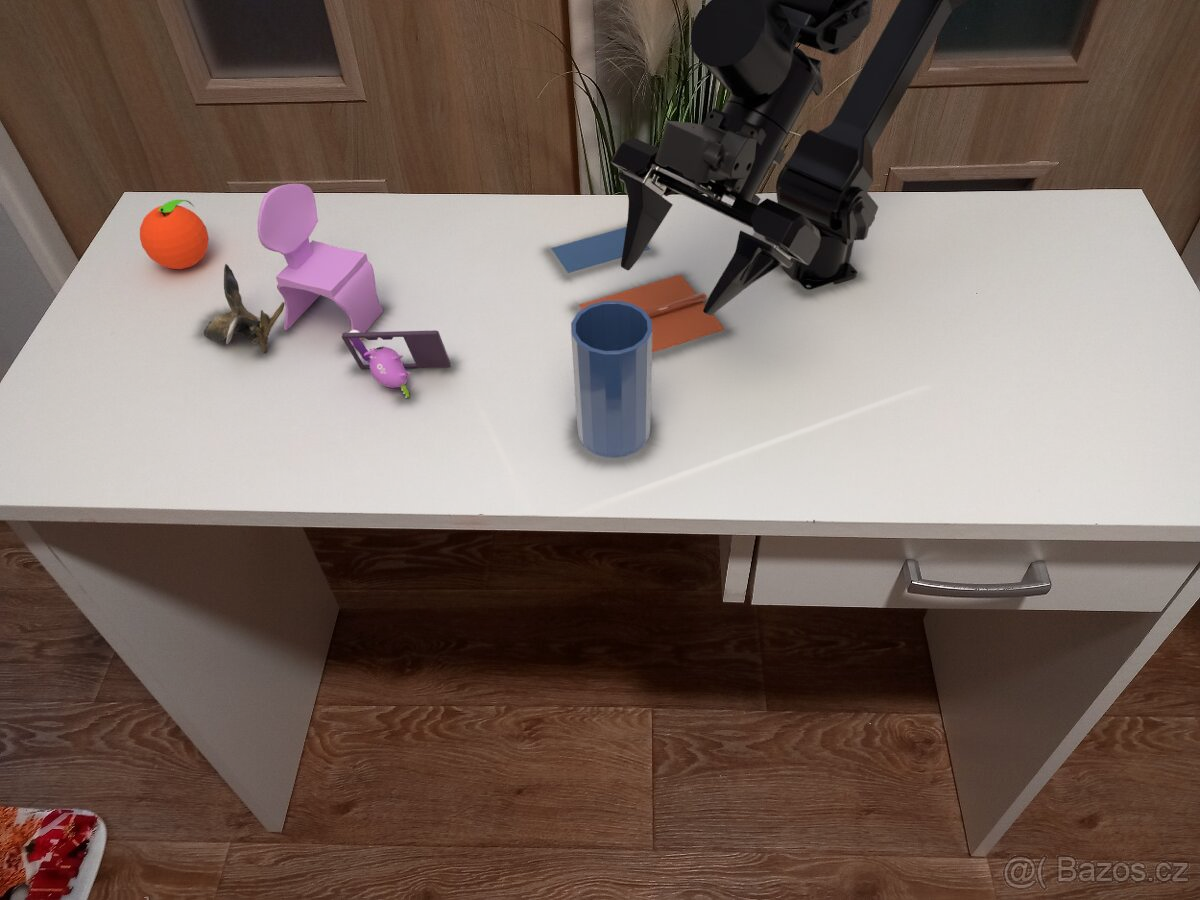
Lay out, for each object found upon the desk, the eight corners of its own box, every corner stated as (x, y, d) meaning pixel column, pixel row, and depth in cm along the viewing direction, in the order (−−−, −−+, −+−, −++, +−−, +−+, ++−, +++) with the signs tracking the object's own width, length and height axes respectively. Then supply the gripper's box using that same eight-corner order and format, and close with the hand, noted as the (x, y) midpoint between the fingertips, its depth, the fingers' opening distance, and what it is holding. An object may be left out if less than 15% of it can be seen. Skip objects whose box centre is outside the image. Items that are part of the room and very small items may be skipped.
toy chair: (350, 356, 91) (310, 231, 80) (277, 336, 94) (229, 212, 82) (392, 306, 96) (360, 182, 85) (322, 288, 99) (282, 165, 87)
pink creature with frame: (438, 323, 84) (342, 325, 84) (435, 373, 82) (337, 375, 82) (451, 357, 90) (361, 359, 90) (448, 404, 88) (357, 406, 88)
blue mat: (631, 229, 104) (631, 225, 104) (650, 252, 101) (650, 248, 101) (551, 251, 102) (551, 247, 102) (568, 276, 99) (567, 272, 99)
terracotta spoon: (699, 290, 96) (699, 283, 95) (713, 308, 94) (713, 301, 93) (605, 319, 93) (605, 312, 93) (618, 337, 91) (618, 331, 91)
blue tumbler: (631, 400, 86) (631, 292, 76) (661, 446, 82) (665, 339, 72) (567, 421, 84) (558, 313, 75) (595, 470, 80) (590, 363, 71)
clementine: (182, 235, 106) (158, 182, 101) (234, 243, 105) (212, 190, 99) (141, 276, 101) (114, 222, 96) (195, 285, 100) (171, 231, 94)
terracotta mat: (680, 277, 98) (680, 274, 98) (724, 332, 92) (725, 329, 92) (579, 308, 95) (578, 304, 95) (617, 367, 89) (617, 363, 89)
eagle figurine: (306, 314, 94) (246, 272, 96) (267, 293, 87) (203, 248, 89) (266, 375, 94) (207, 331, 96) (223, 359, 87) (160, 312, 89)
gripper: (624, 41, 71) (535, 221, 74) (823, 119, 63) (712, 319, 66) (684, 99, 81) (602, 256, 84) (864, 173, 72) (765, 346, 75)
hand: (664, 290), depth 77 cm, fingers open, 9 cm apart
